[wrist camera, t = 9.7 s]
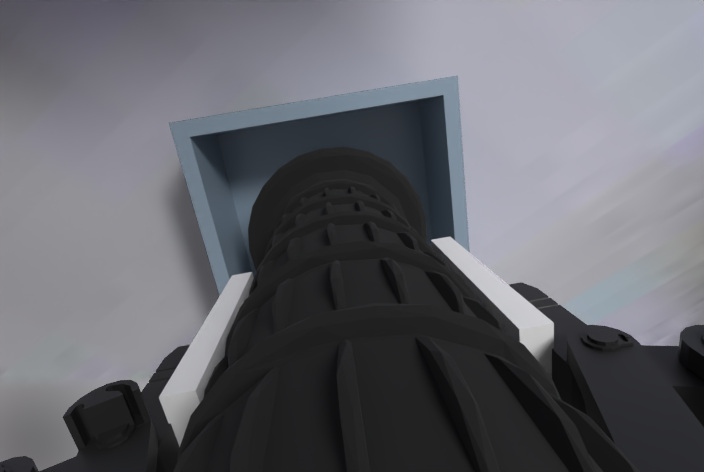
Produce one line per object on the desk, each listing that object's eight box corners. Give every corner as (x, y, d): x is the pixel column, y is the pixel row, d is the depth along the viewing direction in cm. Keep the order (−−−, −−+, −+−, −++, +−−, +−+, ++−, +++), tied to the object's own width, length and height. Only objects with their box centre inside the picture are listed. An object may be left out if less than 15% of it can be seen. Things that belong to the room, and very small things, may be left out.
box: (205, 123, 24) (168, 123, 18) (425, 87, 24) (457, 75, 19) (257, 320, 28) (241, 370, 22) (443, 286, 29) (474, 326, 23)
